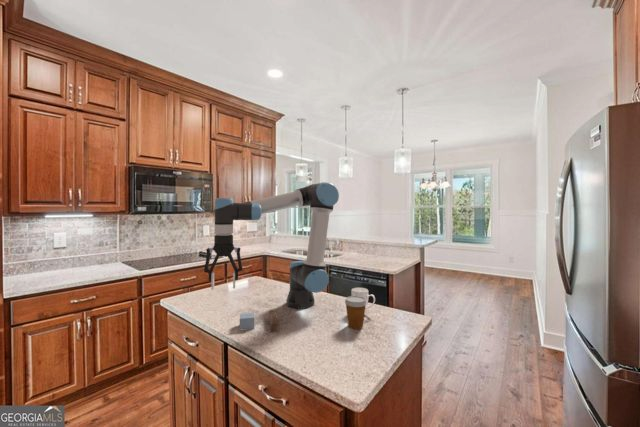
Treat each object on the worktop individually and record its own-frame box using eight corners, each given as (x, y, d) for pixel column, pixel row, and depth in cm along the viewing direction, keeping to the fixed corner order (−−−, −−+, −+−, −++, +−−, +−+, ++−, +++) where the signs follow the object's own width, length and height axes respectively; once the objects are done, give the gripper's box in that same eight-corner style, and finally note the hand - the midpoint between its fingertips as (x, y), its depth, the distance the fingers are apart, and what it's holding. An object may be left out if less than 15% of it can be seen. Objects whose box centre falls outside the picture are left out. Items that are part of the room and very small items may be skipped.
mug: (348, 313, 141) (348, 290, 140) (355, 308, 148) (355, 286, 148) (371, 318, 134) (371, 294, 134) (377, 313, 142) (377, 290, 141)
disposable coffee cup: (352, 332, 119) (352, 303, 119) (340, 324, 128) (340, 297, 127) (371, 328, 123) (371, 300, 123) (358, 320, 132) (358, 294, 132)
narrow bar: (275, 317, 135) (275, 310, 135) (278, 331, 119) (278, 323, 119) (269, 318, 134) (269, 310, 134) (270, 332, 118) (271, 323, 118)
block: (254, 323, 127) (254, 312, 127) (254, 329, 122) (254, 317, 121) (240, 324, 126) (240, 313, 126) (239, 330, 120) (239, 318, 120)
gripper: (249, 233, 127) (249, 284, 128) (199, 233, 123) (199, 286, 123) (248, 234, 120) (248, 289, 120) (195, 235, 115) (195, 291, 116)
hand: (223, 287), depth 122 cm, fingers open, 8 cm apart
